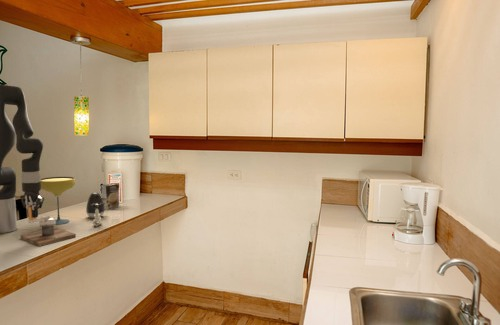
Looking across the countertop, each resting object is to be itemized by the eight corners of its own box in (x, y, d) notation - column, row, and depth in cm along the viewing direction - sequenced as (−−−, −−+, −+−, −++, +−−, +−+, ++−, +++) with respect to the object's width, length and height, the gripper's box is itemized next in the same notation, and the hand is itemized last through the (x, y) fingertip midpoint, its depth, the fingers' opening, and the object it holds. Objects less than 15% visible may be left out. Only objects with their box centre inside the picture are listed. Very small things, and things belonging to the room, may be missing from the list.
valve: (90, 226, 191) (89, 205, 190) (92, 223, 197) (91, 202, 196) (103, 226, 193) (102, 204, 191) (104, 222, 199) (103, 202, 198)
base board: (20, 238, 171) (19, 226, 170) (55, 230, 185) (55, 218, 184) (39, 246, 160) (38, 233, 159) (75, 236, 174) (75, 225, 173)
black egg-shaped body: (89, 220, 204) (88, 194, 203) (84, 216, 212) (83, 192, 210) (107, 217, 211) (106, 192, 209) (101, 214, 219) (100, 190, 217)
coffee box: (107, 210, 229) (106, 185, 227) (101, 208, 232) (100, 184, 231) (119, 207, 236) (118, 184, 234) (114, 206, 240) (113, 183, 238)
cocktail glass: (51, 217, 208) (49, 176, 205) (82, 218, 208) (80, 176, 206) (33, 226, 190) (30, 181, 187) (66, 227, 190) (64, 181, 188)
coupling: (25, 228, 166) (24, 206, 165) (50, 222, 176) (49, 201, 175) (34, 230, 163) (33, 208, 161) (58, 224, 173) (57, 203, 172)
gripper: (13, 180, 162) (15, 217, 164) (34, 183, 157) (35, 220, 159) (28, 178, 169) (30, 213, 171) (49, 181, 164) (50, 217, 166)
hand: (32, 216), depth 165 cm, fingers closed on coupling, 2 cm apart
